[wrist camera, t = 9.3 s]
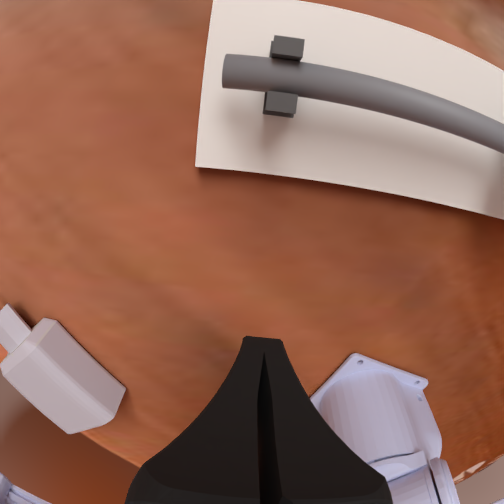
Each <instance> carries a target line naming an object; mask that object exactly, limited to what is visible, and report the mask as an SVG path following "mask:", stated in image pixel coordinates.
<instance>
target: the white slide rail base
mask: <svg viewBox="0 0 504 504" xmlns="http://www.w3.org/2000/svg"><path fill="white" fill-rule="evenodd" d="M195 167H205V168H216V169H227V170H237V171H246V172H255V173H264V174H272V175H280V176H287V177H295V178H302V179H309V180H316V181H322V182H329V183H335V184H341V185H347V186H353V187H359V188H365V189H370V190H376V191H381V192H386V193H392V194H397V195H402V196H407V197H411V198H416V199H421V200H426V201H430V202H435V203H439V204H443V205H448V206H452V207H456V208H460V209H464V210H468V211H472V212H476V213H480V214H484V215H488V216H492V217H495V218H499V219H503V220H504V71H503V70H501V69H500V68H498V67H496V66H494V65H492V64H490V63H489V62H487V61H485V60H483V59H481V58H479V57H477V56H475V55H473V54H471V53H469V52H467V51H464V50H462V49H460V48H458V47H456V46H454V45H451V44H449V43H447V42H444V41H442V40H440V39H437V38H435V37H432V36H430V35H427V34H424V33H422V32H419V31H416V30H414V29H411V28H408V27H405V26H402V25H399V24H396V23H393V22H390V21H386V20H383V19H380V18H376V17H373V16H369V15H365V14H362V13H358V12H354V11H350V10H345V9H341V8H336V7H332V6H327V5H321V4H316V3H310V2H304V1H298V0H213V6H212V13H211V20H210V27H209V34H208V42H207V49H206V57H205V66H204V75H203V84H202V93H201V103H200V114H199V125H198V137H197V149H196V163H195Z"/></svg>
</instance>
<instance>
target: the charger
mask: <svg viewBox="0 0 504 504" xmlns="http://www.w3.org/2000/svg"><path fill="white" fill-rule="evenodd" d="M0 343H1V345H2V346H3V347H4V348H5V349H6V350H7V351H8V352H9V353H8V355H7V356H6V357H5V359H4V360H3V361H2V362H1V364H0V367H1V370H2V374H3V376H4V377H5V378H6V379H7V380H8V381H9V382H10V383H11V384H12V385H13V386H14V387H15V388H16V389H17V390H18V391H19V392H20V393H21V394H22V395H23V396H24V397H25V398H26V399H27V400H28V401H30V402H31V403H32V404H33V405H34V406H35V407H36V408H37V409H38V410H40V411H41V412H42V413H43V414H44V415H45V416H47V417H48V418H49V419H50V420H51V421H53V422H54V423H55V424H56V425H57V426H59V427H60V428H61V429H62V430H64V431H65V432H66V433H67V434H72V433H76V432H80V431H84V430H88V429H91V428H95V427H98V426H102V425H104V424H106V423H108V422H109V421H111V420H112V419H113V418H114V416H115V415H116V412H117V410H118V407H119V405H120V402H121V400H122V398H123V395H124V393H125V390H126V388H125V387H124V386H123V385H122V384H121V383H120V382H119V381H117V380H116V379H115V378H114V377H113V376H112V375H111V374H110V373H109V372H108V371H106V370H105V369H104V368H103V367H102V366H101V365H100V364H99V363H98V362H97V361H96V360H95V359H94V358H93V357H92V356H91V355H90V354H89V353H88V352H87V351H86V350H85V349H84V348H83V347H82V346H81V345H80V344H79V343H78V342H77V341H76V340H75V339H74V338H73V337H72V336H71V335H70V334H69V333H68V332H67V331H66V330H65V329H64V328H63V327H62V326H61V324H60V323H59V322H58V321H57V320H53V319H48V318H43V319H42V320H41V321H40V322H39V323H37V324H36V325H35V326H34V327H33V328H32V329H31V328H30V327H29V326H28V325H27V323H26V322H25V321H24V320H23V319H22V318H21V316H20V315H19V314H18V313H17V312H16V311H15V309H14V308H13V307H12V306H11V304H10V303H7V304H6V305H5V306H4V308H3V309H2V310H1V311H0Z"/></svg>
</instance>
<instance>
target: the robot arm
mask: <svg viewBox="0 0 504 504" xmlns="http://www.w3.org/2000/svg"><path fill="white" fill-rule="evenodd" d="M360 360H361V361H360ZM358 361H359V362H358ZM427 385H428V381H427V379H425V378H422V377H420V376H417V375H414V374H411V373H409V372H406V371H403V370H400V369H398V368H395V367H392V366H390V365H387V364H384V363H382V362H379V361H376V360H374V359H371V358H368V357H366V356H363V355H361V354H358V353H354V354H352V355H350V356H349V357H348V358H347V359H346V361H345V362H344V363H343V364H342V365H341V366H340V367H339V368H338V369H337V370H336V371H335V372H334V374H333V375H332V376H331V377H330V378H329V379H328V380H327V381H326V382H325V383H324V384H323V385H322V386H321V387H320V388H319V389H318V390H317V391H316V392H315V393H314V394H313V395H312V396H311V397H310V398H309V397H308V395H307V394H306V392H305V390H304V388H303V387H302V385H301V383H300V381H299V379H298V377H297V375H296V373H295V371H294V369H293V367H292V365H291V363H290V361H289V358H288V356H287V353H286V351H285V348H284V345H283V342H282V341H281V340H280V339H272V338H262V337H252V336H246V337H244V338H243V341H242V345H241V348H240V351H239V354H238V356H237V358H236V361H235V363H234V364H233V366H232V368H231V370H230V372H229V374H228V376H227V377H226V379H225V381H224V382H223V384H222V385H221V387H220V388H219V390H218V391H217V393H216V394H215V396H214V397H213V398H212V400H211V401H210V402H209V404H208V405H207V406H206V407H205V409H204V410H203V411H202V412H201V413H200V415H199V416H198V417H197V418H196V419H195V420H194V421H193V422H192V423H191V424H190V425H189V426H188V427H187V428H186V429H185V430H184V431H183V432H182V433H181V434H180V435H179V436H178V437H177V438H176V439H174V440H173V441H172V442H171V443H170V444H169V445H168V446H166V447H165V448H164V449H163V450H161V451H160V452H159V453H157V454H156V455H155V456H153V457H152V458H150V459H149V460H148V461H146V462H145V463H144V464H143V465H142V467H141V468H140V470H139V471H138V473H137V474H136V476H135V478H134V479H133V481H132V483H131V485H130V488H129V490H128V494H127V497H126V501H125V504H460V502H459V499H458V495H457V492H456V488H455V485H454V482H453V479H452V476H451V473H450V470H449V468H448V465H447V462H446V460H443V459H439V458H440V454H441V449H442V439H441V434H440V432H439V429H438V427H437V424H436V422H435V419H434V417H433V414H432V412H431V409H430V407H429V405H428V402H427V400H426V397H425V395H424V393H423V391H422V390H423V389H424V388H425V387H426V386H427ZM0 504H51V503H49V502H47V501H45V500H43V499H41V498H38V497H36V496H34V495H32V494H30V493H29V492H26V491H25V490H23V489H21V488H19V487H17V486H15V485H14V484H12V483H11V481H10V480H9V479H8V478H7V477H6V476H4V475H3V474H2V473H0ZM491 504H504V498H502V499H500V500H498V501H495V502H493V503H491Z"/></svg>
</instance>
